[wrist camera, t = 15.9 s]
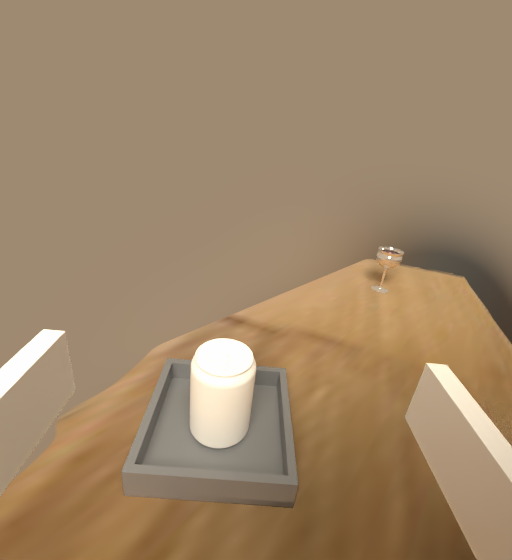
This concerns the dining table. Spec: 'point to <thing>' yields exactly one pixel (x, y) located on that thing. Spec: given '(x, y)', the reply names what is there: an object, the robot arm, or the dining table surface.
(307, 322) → the dining table surface
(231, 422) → the beverage can
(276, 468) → the bin
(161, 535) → the dining table surface
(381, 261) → the wineglass
